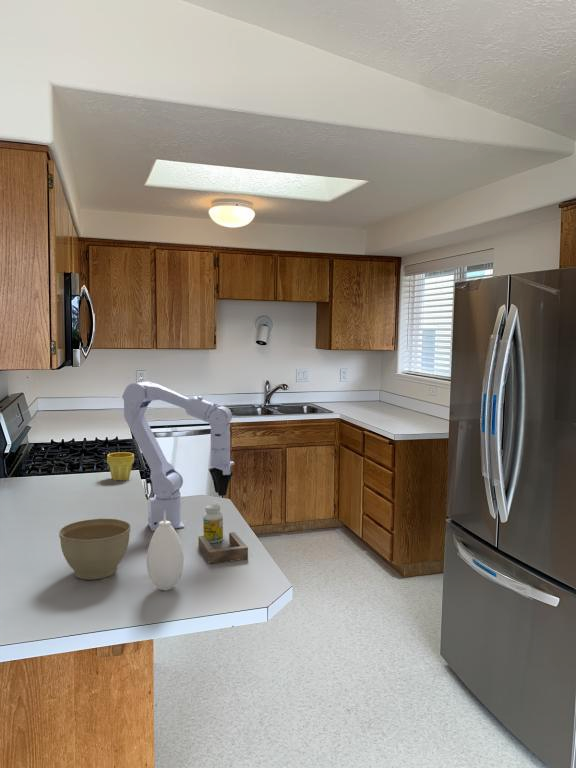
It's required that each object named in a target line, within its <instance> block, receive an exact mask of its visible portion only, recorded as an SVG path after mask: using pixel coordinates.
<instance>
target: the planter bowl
mask: <svg viewBox="0 0 576 768" xmlns="http://www.w3.org/2000/svg"><path fill="white" fill-rule="evenodd" d="M130 532H131V524H130V523H129V522H128V521H126V520H122V519H118V518H117V519H116V518H91V519H84V520H79V521H75V522H71V523H69V524H67V525H64V526H62V527H61V528H60V529H59V531H58V535H59V539H60V547H61V551H62V553H63V556H64V559H65V560H66V563H67V564H68V566H69V567H70V568H71V569H72V570H73V572H74V576H75V577H76V578H79V579H80V580H81V579H82V580H99V579H104V578H107V577H110V576H112V575H114V574H116V572H117V570H118V569H117V568H118V566H119V564H120V563H121V562H122V560H123V558H124V557H125V554H126V553H127V550H128V548H129V547H128V546H129V542H130Z"/></svg>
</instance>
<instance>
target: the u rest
mask: <svg viewBox="0 0 576 768" xmlns="http://www.w3.org/2000/svg"><path fill="white" fill-rule="evenodd" d="M228 543H230V544H231V545H230V544H229V545H230V547H223V548H217V549H214V548H213V546H212V545H211V543H209V542H208V541H207V539H206V538H205V536H204V535H198V549H199V548H200V549H199V550H200V552H201V553H202V555H203V556H204V558H205V560H206V559H207V560H206V561H207V563H208V562H209V563H208V564H209V565H212V564H211V563H215V564H220V563H219V562H222V563H226V562H225V561H229V562H232V561H231V560H236V561H239V560H238V559H244V560H246V559H245V558H248V559H249V547H248V546H247V544H245V542H244V541H243V540H242V539H241V537H239V536H238V534H237V533H236V532H235V531H232V532H231V531H230V532H229V533H228Z"/></svg>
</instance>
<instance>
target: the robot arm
mask: <svg viewBox="0 0 576 768" xmlns="http://www.w3.org/2000/svg"><path fill="white" fill-rule="evenodd" d="M121 398H122V400H123V416H124V420H125V422H126V423H127V425H128V428H129V429H130V432H131V434H132V436H133V437H134V440H135V441H136V444H137V445H138V448H139V450H140V451H141V453H142V456H143V457H144V459H145V461H146V463H147V465H148V467H149V470H150V475H149V476H150V477H149V478H150V481H151V483H152V484H151V486H152V491H153V494H154V495H155V496H153V497H149V498H148V502H147V508H148V509H147V511H148V513H147V514H148V516H147V523H148V526H149V528H150V530H151V532H155V531H156V529H157V528H158V527H159V522H161V521H164V510H165V513H166V521H170V522H171V526H172V527H173V528H174V529H179V528H180V529H181V528H184V527H185V525H184V523H183V522H182V520H181V519H182V518H181V517H182V516H181V515H182V514H181V512H182V509H181V504H182V503H181V502H182V501H181V491H180V489H181V488H182V486H183V483H184V479H183V476H182V474H181V473H179V472H178V470H176V469H175V467H174V465H173V464H171V463H170V462H169V461H168V460H167V458H166V456H165V454H164V453H163V450H162V448H161V447H160V445H159V442H158V441H157V439H156V436H155V435H154V432H153V431H152V428H151V426H150V424H149V423H148V421H147V418H146V417H145V414H146V411H147V409H148V406H149V404H150V403H151V402H152V401H162V402H165V403H168V404H171V405H174V406H177V407H179V408H183V409H184V410H185V412H186V414H187V415H188V416H191V417H193V418H196V419H197V420H200V421H203V422H205V423H208V424H209V426H210V462H209V466H210V468H208V471H209V473H210V476H211V479H212V483H213V488H214V491H215V493H217V495H218V496H219V497H223V496H227V492H228V489H229V483H230V481H231V478H232V477H233V474H234V472H233V471H231V467H232V466H234V465H235V462H234V461H233V460H231V424H230V423H231V422H232V419H233V413H232V411H231V409H230V408H229V407H227V406H225V405H219V404H218V403H217V402H211V401H208V400H205V399H204V396H201V395H198V396H196V395H195V396H192V397H190V398H189V397H187V396H185V395H182V394H180V393H178V392H176V391H174V390H171V389H169V388H167V387H165V386H163V385H161V384H158V383H155V382H151V381H149V380H143V381H140V382H132V383H129V384H127V386H126V387H125V388H124V391H123V394H122V396H121Z"/></svg>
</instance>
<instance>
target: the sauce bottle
mask: <svg viewBox="0 0 576 768" xmlns="http://www.w3.org/2000/svg"><path fill="white" fill-rule="evenodd" d="M146 553H147V554H146V569H147V573H148V577H149V580H150V582H151V583H152V585H153V586H155V587H157V589H158V590H161V591H163V590H165V591H164V592H166V590H167V591H169V590H170V589H173V588H174V586H175V585H177V584H178V582H179V581H180V579H181V576H182V574H183V569H184V551H183V547H182V542H181V539H180V538H179V535H178V533H177V532H176V530H175V528H173V527H172V526H171V522H170V521H166V513H165V510H164V521H161V522H159V527H158V528H157V529H156V531H153V534H152V537H151V539H150V542H149V545H148V549H147V552H146Z"/></svg>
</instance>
